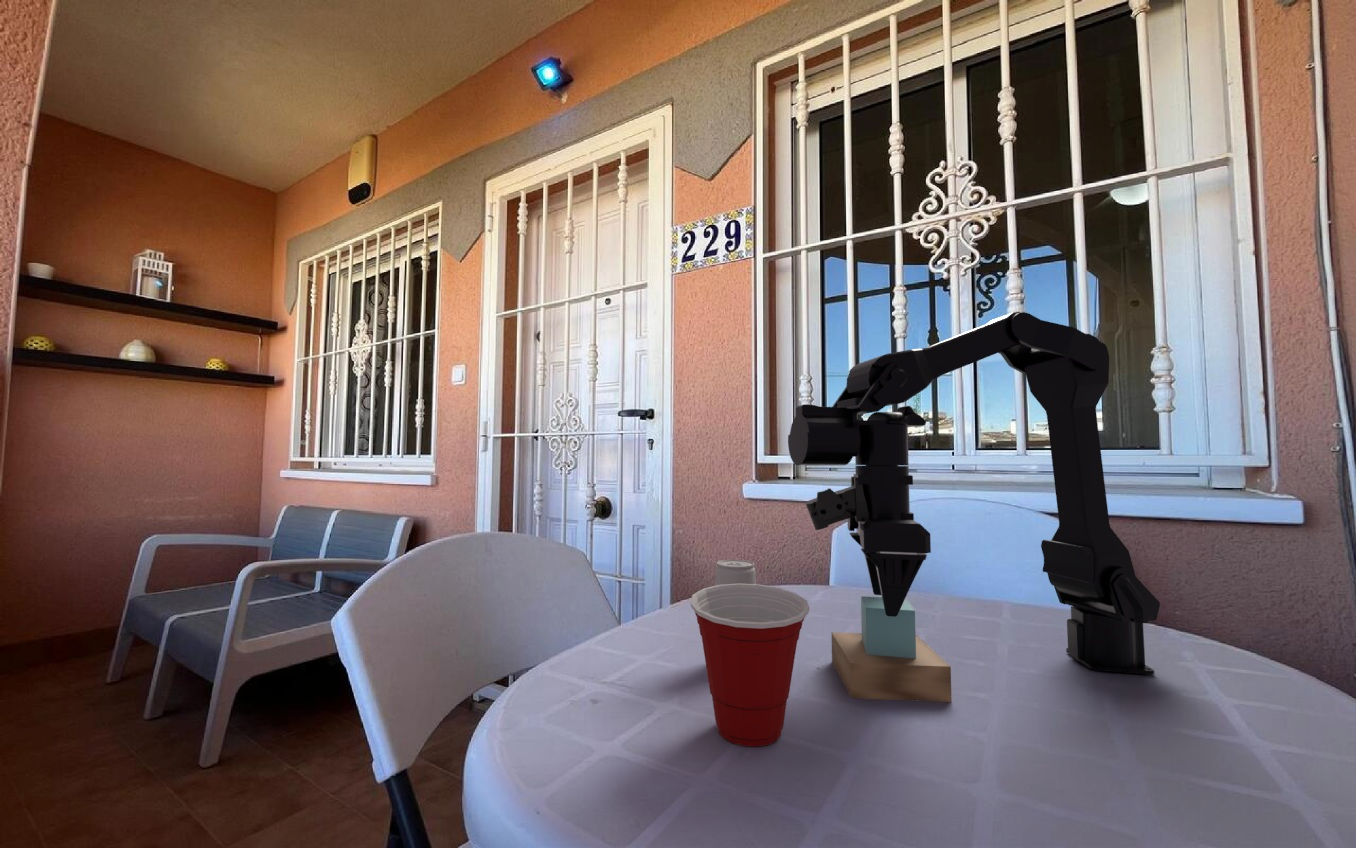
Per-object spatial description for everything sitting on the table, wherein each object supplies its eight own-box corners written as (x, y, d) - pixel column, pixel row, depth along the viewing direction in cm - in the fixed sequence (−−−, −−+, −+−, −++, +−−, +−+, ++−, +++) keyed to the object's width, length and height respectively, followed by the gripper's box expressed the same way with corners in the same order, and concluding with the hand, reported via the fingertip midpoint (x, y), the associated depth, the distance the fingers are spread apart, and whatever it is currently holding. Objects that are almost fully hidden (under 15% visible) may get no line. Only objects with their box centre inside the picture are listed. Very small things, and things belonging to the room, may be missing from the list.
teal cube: (907, 643, 63) (906, 598, 63) (916, 658, 58) (914, 610, 58) (861, 639, 64) (861, 596, 64) (866, 654, 59) (865, 607, 59)
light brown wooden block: (916, 668, 65) (916, 634, 65) (951, 706, 55) (950, 666, 56) (832, 666, 66) (831, 632, 66) (851, 703, 56) (850, 663, 56)
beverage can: (754, 673, 62) (754, 567, 63) (713, 670, 63) (713, 566, 64) (757, 658, 67) (756, 560, 68) (718, 655, 68) (718, 558, 69)
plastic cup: (696, 768, 43) (696, 614, 44) (685, 706, 54) (685, 584, 55) (829, 763, 44) (826, 612, 45) (792, 703, 55) (790, 582, 56)
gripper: (807, 464, 73) (809, 582, 72) (811, 466, 55) (813, 624, 54) (895, 465, 71) (898, 587, 70) (930, 467, 52) (934, 632, 51)
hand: (884, 604), depth 61 cm, fingers open, 9 cm apart
